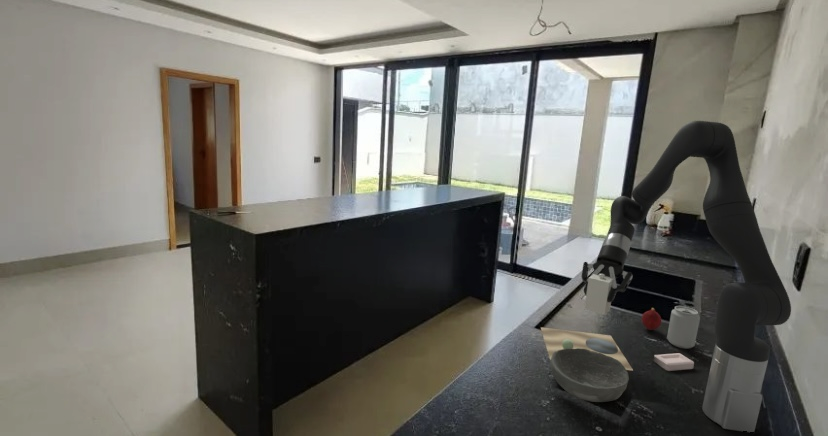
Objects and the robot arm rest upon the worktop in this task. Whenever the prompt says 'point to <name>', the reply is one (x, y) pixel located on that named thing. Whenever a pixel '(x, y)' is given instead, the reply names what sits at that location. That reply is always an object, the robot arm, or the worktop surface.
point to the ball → (567, 344)
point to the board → (583, 343)
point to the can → (683, 327)
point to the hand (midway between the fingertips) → (597, 297)
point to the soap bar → (673, 362)
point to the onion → (651, 319)
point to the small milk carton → (598, 293)
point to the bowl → (589, 374)
